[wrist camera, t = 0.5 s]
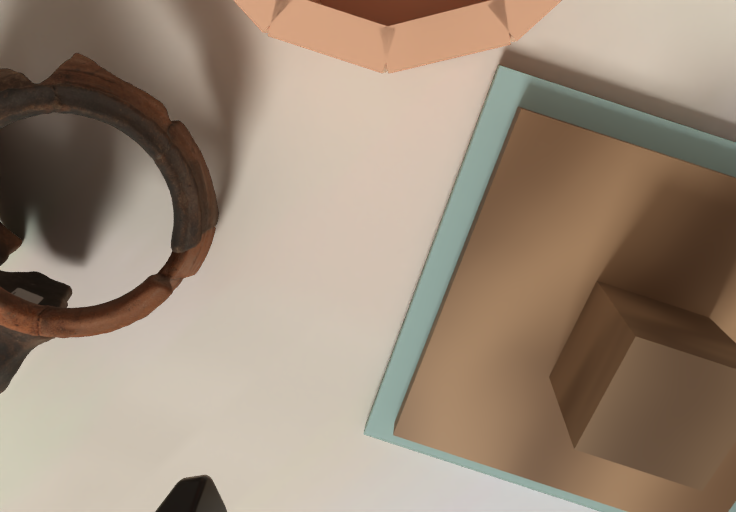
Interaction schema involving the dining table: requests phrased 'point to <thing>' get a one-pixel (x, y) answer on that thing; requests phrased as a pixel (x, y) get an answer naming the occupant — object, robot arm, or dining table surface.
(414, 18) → the terracotta bowl
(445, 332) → the walnut lid
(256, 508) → the dining table surface
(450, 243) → the teal mat
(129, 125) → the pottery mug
